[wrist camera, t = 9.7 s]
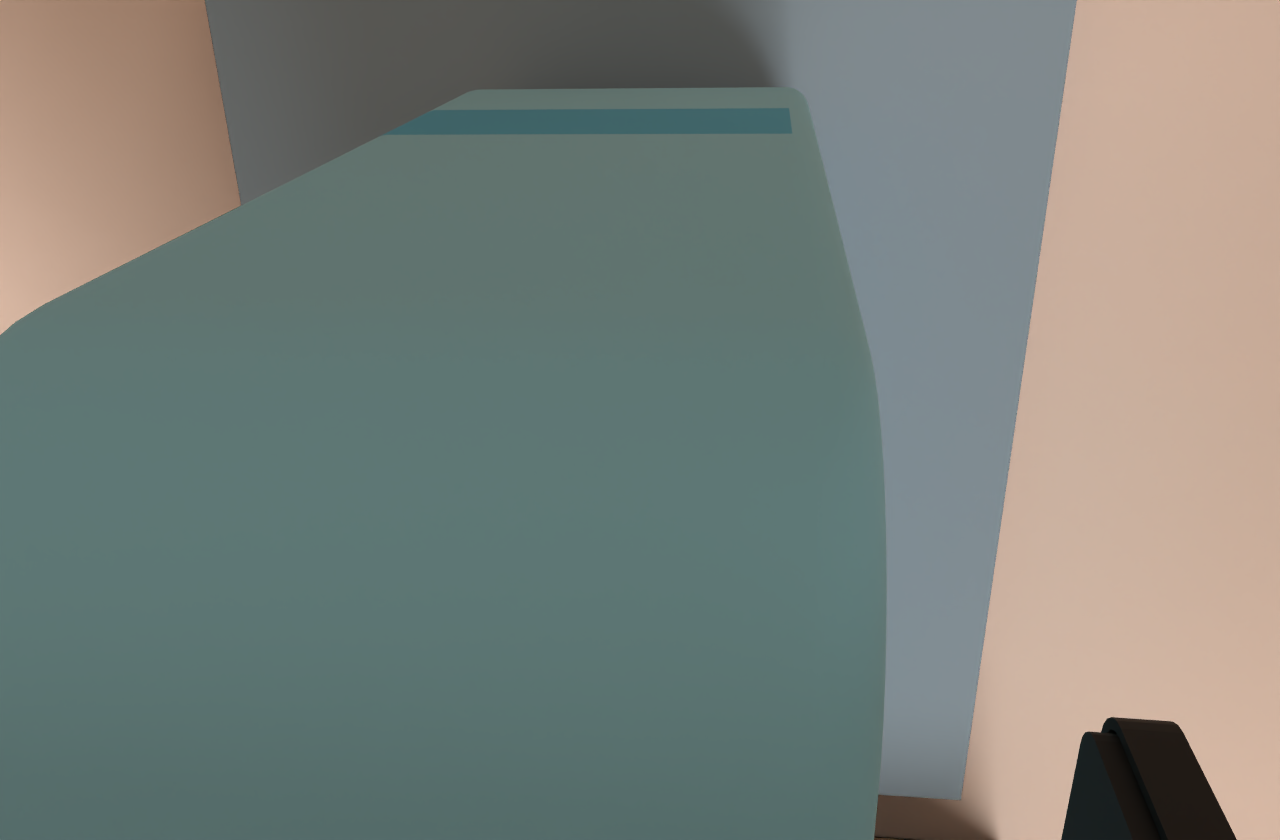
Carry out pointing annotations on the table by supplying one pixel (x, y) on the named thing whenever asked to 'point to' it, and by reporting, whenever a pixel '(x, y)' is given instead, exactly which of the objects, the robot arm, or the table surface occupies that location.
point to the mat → (863, 201)
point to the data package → (459, 497)
